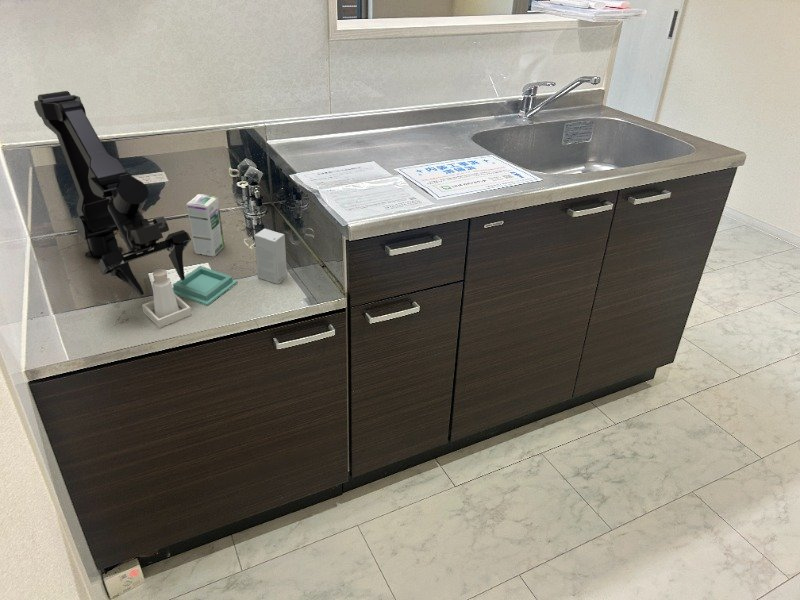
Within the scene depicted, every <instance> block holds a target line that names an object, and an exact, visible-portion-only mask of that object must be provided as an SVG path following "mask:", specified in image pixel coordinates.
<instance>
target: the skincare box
mask: <svg viewBox="0 0 800 600" xmlns="http://www.w3.org/2000/svg"><path fill="white" fill-rule="evenodd" d="M253 236H254V246H255V247H254V248H255V257H256V258H255V259H256V269H257V270H256V271H257V277H258V279H261V280H264V281H268V282H270V283H273V284H276V285H278V284H280V283H281V282H282V281H284V280H285V279H286V278H287V277H288V271H287V256H286V255H287V254H286V249H287V248H286V235H285V234H284V233H281V232H277V231H274V230H271V229H268V228H263V229H261V230H260V231H258V232H257V233H255V234H254V235H253Z"/></svg>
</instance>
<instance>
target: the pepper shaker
mask: <svg viewBox="0 0 800 600" xmlns="http://www.w3.org/2000/svg"><path fill="white" fill-rule="evenodd" d="M167 274H168V271H167V270H166V269H164V268H158V269H155V270H153V272H152V276H153V281H152V293H153V300H154V310H153V311H154V314H155V315H156V316H157V317H158V318H162V317H164V316H167V315H169V314H172V313H174V312H177V311H179V310H180V307H179V306H178V305H177V301H176V298H175V295H174V292H173V284H172V283H171V280H170V278H168V275H167Z"/></svg>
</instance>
